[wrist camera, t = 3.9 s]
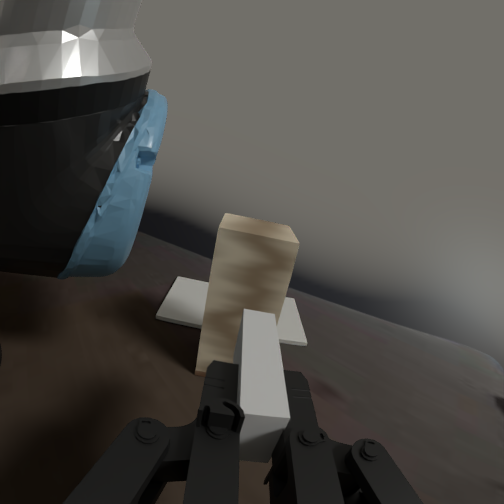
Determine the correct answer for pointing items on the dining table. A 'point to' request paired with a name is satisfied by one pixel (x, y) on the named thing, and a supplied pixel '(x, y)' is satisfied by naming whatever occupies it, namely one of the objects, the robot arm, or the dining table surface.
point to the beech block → (243, 281)
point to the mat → (193, 305)
